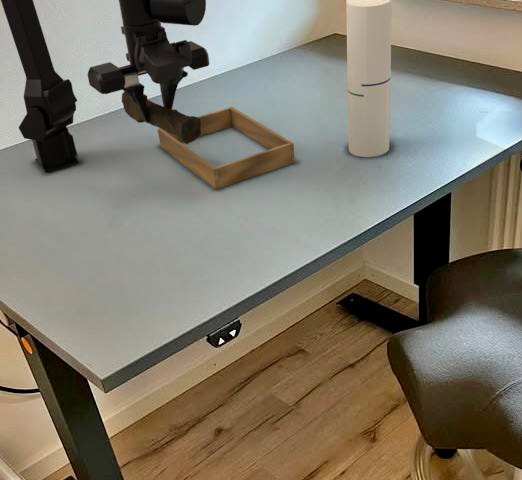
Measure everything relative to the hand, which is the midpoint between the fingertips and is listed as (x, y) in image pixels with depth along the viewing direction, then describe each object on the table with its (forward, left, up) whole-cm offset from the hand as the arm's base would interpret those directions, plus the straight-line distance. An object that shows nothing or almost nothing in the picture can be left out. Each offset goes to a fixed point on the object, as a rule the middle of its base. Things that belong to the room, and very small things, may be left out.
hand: (157, 119), depth 130 cm
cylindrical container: (+34, -12, -11) cm, 38 cm away
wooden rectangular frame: (+13, +3, -11) cm, 17 cm away
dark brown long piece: (0, 0, -2) cm, 2 cm away
